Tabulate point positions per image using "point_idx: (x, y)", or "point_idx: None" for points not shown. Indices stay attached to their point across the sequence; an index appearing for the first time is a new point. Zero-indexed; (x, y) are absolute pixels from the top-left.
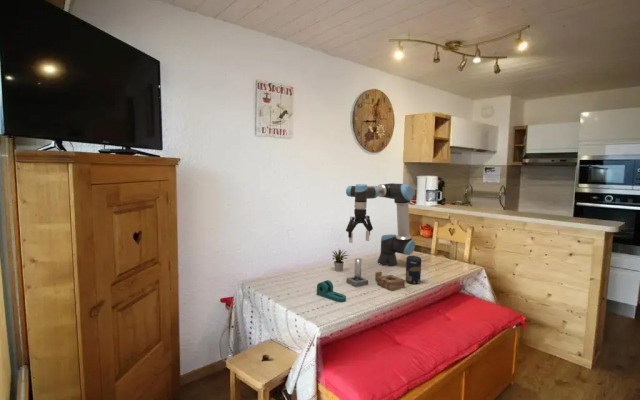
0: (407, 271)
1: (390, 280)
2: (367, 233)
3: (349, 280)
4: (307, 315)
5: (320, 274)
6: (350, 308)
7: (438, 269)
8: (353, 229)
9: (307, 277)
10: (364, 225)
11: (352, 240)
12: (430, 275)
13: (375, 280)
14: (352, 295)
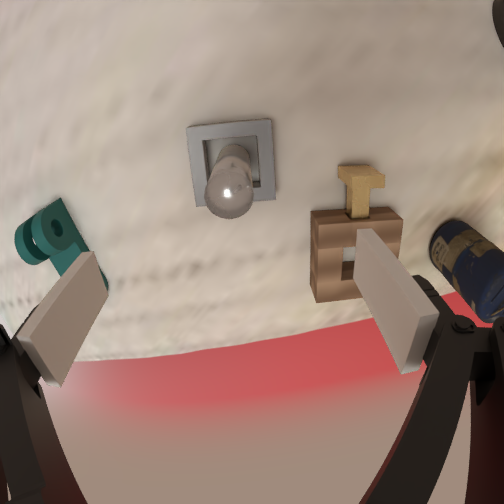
0: (451, 264)
1: (338, 279)
2: (391, 323)
3: (189, 154)
4: (11, 319)
5: None
6: (103, 335)
7: None
8: (51, 426)
9: (62, 20)
10: (399, 440)
11: (96, 315)
12: None
13: (338, 169)
14: (143, 267)
